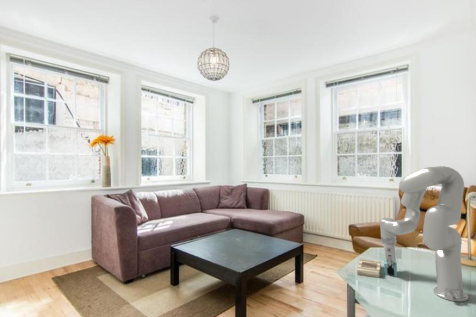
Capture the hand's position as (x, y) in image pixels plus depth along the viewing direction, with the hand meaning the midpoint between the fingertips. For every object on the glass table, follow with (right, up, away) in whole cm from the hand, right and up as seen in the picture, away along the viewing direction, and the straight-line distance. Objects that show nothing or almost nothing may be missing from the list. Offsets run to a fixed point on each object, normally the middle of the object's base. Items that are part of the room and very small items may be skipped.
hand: (390, 272), depth 148 cm
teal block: (0, -1, 0) cm, 1 cm away
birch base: (-9, -1, +6) cm, 11 cm away
